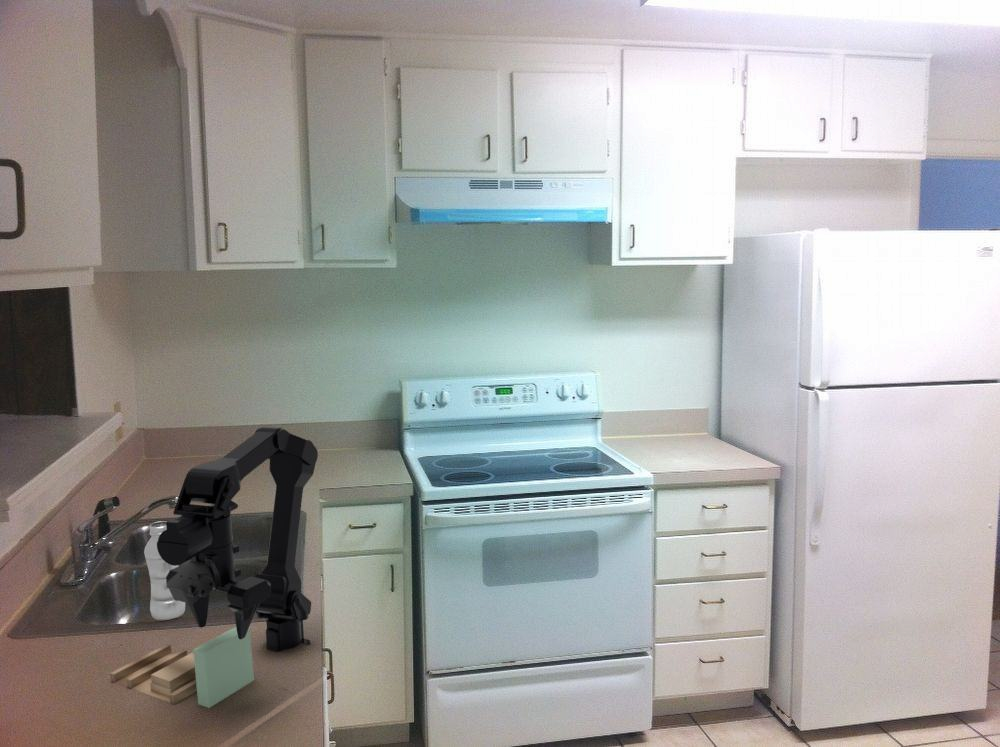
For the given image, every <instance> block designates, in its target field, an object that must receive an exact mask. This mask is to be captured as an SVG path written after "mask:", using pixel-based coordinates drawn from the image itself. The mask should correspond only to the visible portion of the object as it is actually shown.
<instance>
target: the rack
mask: <svg viewBox="0 0 1000 747" xmlns="http://www.w3.org/2000/svg"><path fill="white" fill-rule="evenodd" d="M187 655H188V650H187V649H185V648H183V649H181V650H179V651H177V652H175V653H173V652H172V645H171V644H168V643H166V644H164V645H162V646H160V647H159V648H156V649H154V650H152V651H150V652H148V653H147V654H144V655H143V656H140V657H139V658H137V659H135V660H133V661H131V662H129V663H126V664H125V665H123V666H121V667H119V668H117V669H115V670H113V671H112V672H110V675H109V676H110V681H111V682H112V683H115V684H118V685H120V686H124V687H126V688H128V689H131V690H133V691H137V692H140V693H142V694H146V695H148V696H150V697H153V698H156V699H158V700H161V701H164V702H167V703H168V704H172V705H177V704H178V703H180V702H182V701H183V700H185V699H186V698H189V697H190V696H191V695H193V694H194V693H197V685H196V679H195V680H194V681H192V682H190V683H188V684H187V685H185V686H183V687H181V688H180V689H178V690H176V691H174V692H173V693H171V694H169V695H170V698H169V697H166V696H163V695H160V694H158V693H155V692H152V691H151V687H150V683H151V682H152V680H151V674H153V673H155V672H157V671H159V670H161V669H163V668H164V667H166V666H168V665H170V664H172V663H174V662H176V661H177V660H179V659H181V658H183V657H185V656H187Z"/></svg>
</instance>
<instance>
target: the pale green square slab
mask: <svg viewBox="0 0 1000 747" xmlns="http://www.w3.org/2000/svg"><path fill="white" fill-rule="evenodd" d="M251 636H252V635H251V627H249V629H248V631H247V634H246V636H245V638H243V639H241V640H240V639H239V638H238V634H237V629H236V626H235V627H232V628H231V629H229V630H226V631H225V632H223V633H221V634H219V635H218V636H216V637H214V638H213V639H210V640H208V641H206V642H205V643H202V644H200V645H199V646H197V647H196V648H193V651H192V652H194V663H195V674H196V685H197V692H196V694H197V695H196V696H197V704H198V705H199V706H203V707H205V708H208V709H210V708H212V707H213V706H215V705H216V704H218V703H220V702H221V701H223V700H224V699H226V698H227V697H229V696H231V695H232V694H234V693H236V692H238V691H239V690H240V689H242V688H244V687H246V686H248V685H249V684H250V683H252V682H253V681H255V677H254V676H255V675H254V674H255V673H254V662H253V651H252V638H251Z"/></svg>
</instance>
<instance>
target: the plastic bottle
mask: <svg viewBox="0 0 1000 747" xmlns="http://www.w3.org/2000/svg"><path fill="white" fill-rule="evenodd" d="M167 522H168V521H166V520H165V521H164V520H163V521H161V520H160V521H156V522H152V523H150V524H149V536H151V537H150V539H149V540H148V541H147V543H146V545H145V547H144V552H143V553H144V557H145V558H144V559H145V561H146V562H145V563H146V566H147V570H148V575H149V580H150V602H149V604H150V605H149V610H150V611H149V612H150V614H151V617H152V619H154V620H156V621H171V620H174V619H177V618H180V617H181V616H183V615H184V613H185V612H186V603H185V602H182V601H175V600H174V599H173V596H172V594H171V592H170V590H169V588H167V582H166V576H167V575H168V573H169V571H170V570H172V569H174V568H176V567H179V566H180V565H177V566H173V565H170V564H168V563H166V562H165V561H164V560H163V559H162V558H161V556H160V555H159V553H158V550H157V542H158V538H159V536H160V534H161V533H162V532H163V531H165V530H167V528H166V523H167Z"/></svg>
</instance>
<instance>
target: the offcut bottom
mask: <svg viewBox="0 0 1000 747" xmlns="http://www.w3.org/2000/svg"><path fill="white" fill-rule="evenodd" d="M195 679H196V675H195V676H193V677H192V678H190V679H188V680H186V681H185V682H183V683H181V684H179V685H178V686H176V687H174V688H172V689H171V690H170V689H167V688H164V687H162V686H159V685H156V684H153V683H152V682H151V683H150V687H151V691H152V692H155V693H158V694H160V695H163V696H166V697H169V698H170V695H169V694H171V693H173V692H174V691H176V690H178V689H180V688H181V687H183V686H185V685H187V684H188V683H190V682H192V681H194V680H195Z"/></svg>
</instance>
